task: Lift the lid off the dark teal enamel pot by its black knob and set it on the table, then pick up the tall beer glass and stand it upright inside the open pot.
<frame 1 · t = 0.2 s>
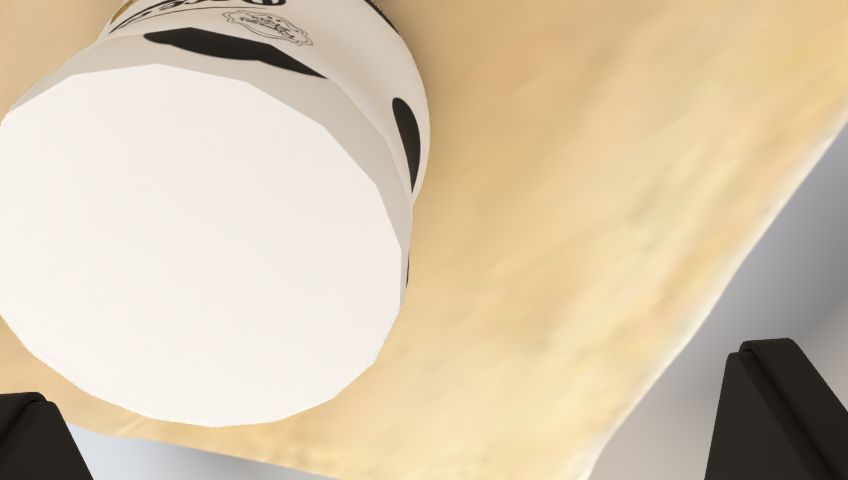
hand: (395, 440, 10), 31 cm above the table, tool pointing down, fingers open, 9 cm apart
milk container: (279, 101, 39), on the table
when the fingers open (2 cm above the table, at t = 11.9 s): lid stays where it is, point 1 cm above the table.
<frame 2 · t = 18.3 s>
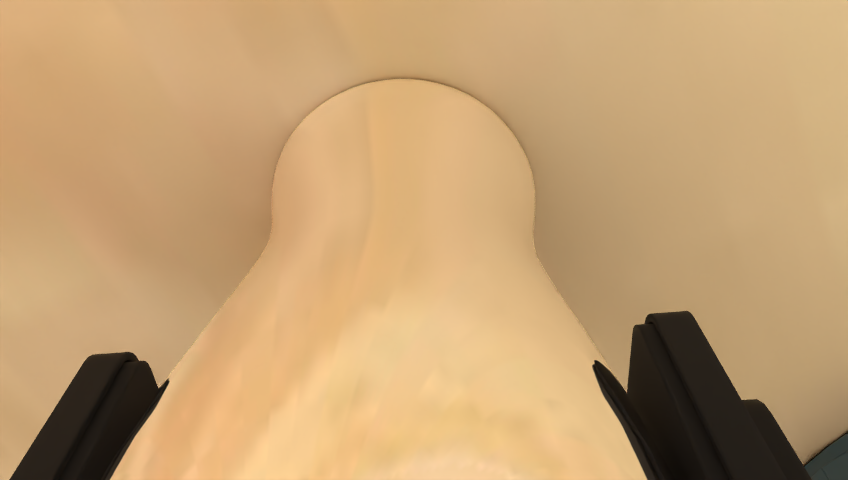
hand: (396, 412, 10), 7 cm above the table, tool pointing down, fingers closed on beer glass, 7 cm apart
beer glass: (404, 199, 16), on the table, touching gripper
when the fingers open (7 cm above the table, at t = 26.3 s): beer glass stays where it is, resting on pot.
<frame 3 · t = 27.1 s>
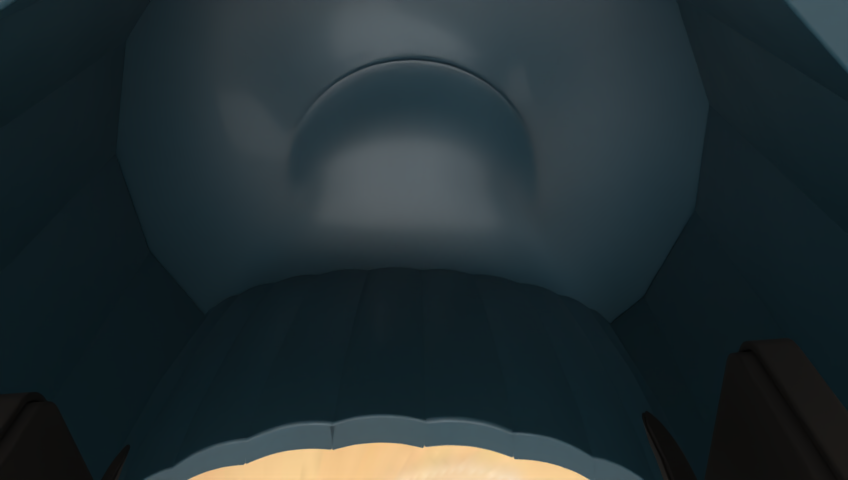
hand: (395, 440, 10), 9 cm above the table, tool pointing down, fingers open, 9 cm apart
pot: (412, 172, 17), on the table
beer glass: (412, 177, 17), resting on pot
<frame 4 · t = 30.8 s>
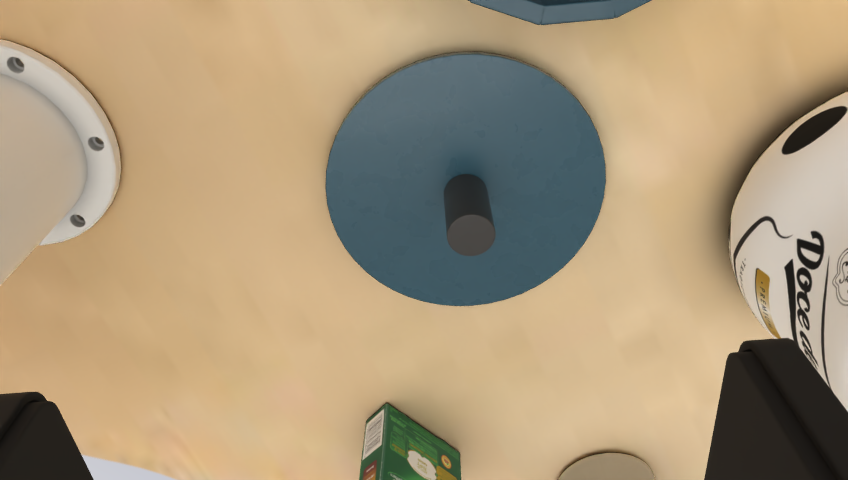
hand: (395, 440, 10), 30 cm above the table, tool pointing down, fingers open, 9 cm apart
coffee box: (411, 432, 52), on the table
lid: (464, 189, 41), point 1 cm above the table
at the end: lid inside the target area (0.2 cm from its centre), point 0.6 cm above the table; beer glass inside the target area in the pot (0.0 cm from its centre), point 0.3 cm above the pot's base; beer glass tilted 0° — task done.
